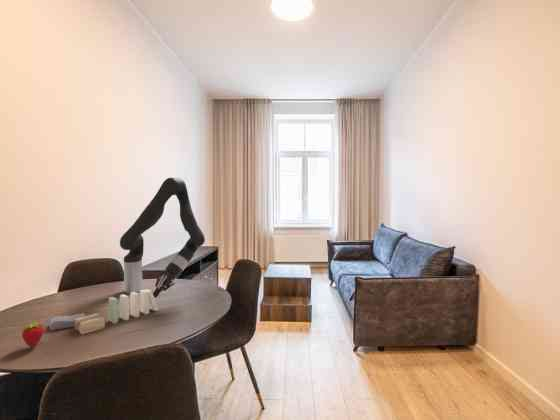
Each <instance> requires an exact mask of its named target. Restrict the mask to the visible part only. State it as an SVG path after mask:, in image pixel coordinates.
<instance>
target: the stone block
mask: <svg viewBox="0 0 560 420" xmlns="http://www.w3.org/2000/svg"><path fill="white" fill-rule="evenodd" d="M85 316H86V314H85V312H84V313H82V312H81V313H76V314H72V315H66V316H65V315H61V316H54V317H52V319H51V320H50V321H49V330H53V331H56V330H55V329H60V330H62V329H61V328H66V329H69V328H68V327H71V328H75V319H77V318H81V317H85Z"/></svg>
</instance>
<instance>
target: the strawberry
mask: <svg viewBox="0 0 560 420" xmlns="http://www.w3.org/2000/svg"><path fill="white" fill-rule="evenodd" d="M35 321H36V319H34V320H33V321H32V322H31V323H30V324H26V325H25V326H24V329H23V330H22V333H21V337H22V339H23V341H24V343H26V345H27V346H29V348H31V347H34V348H35V347H36V346H37V344H38V343H39V342H40V340H42V338H43V336H44V331H45V329H44V326H43V325H42V323H38V322H35Z"/></svg>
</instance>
